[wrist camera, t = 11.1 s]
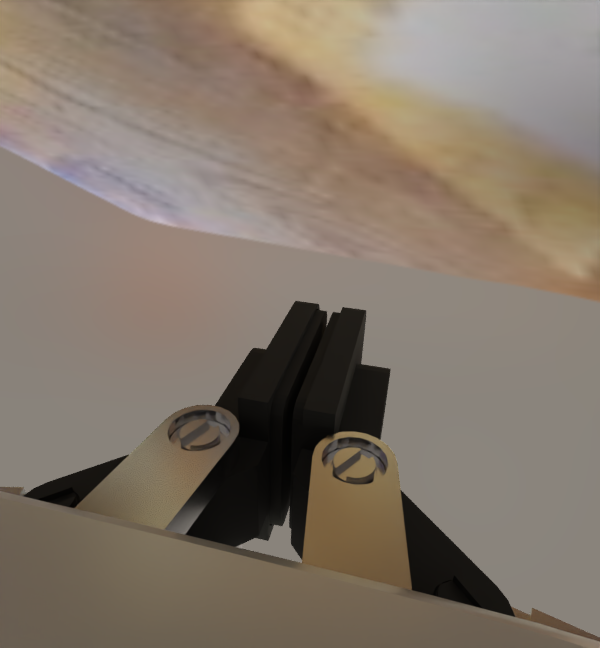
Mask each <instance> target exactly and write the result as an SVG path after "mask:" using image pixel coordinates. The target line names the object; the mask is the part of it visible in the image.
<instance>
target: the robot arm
mask: <svg viewBox="0 0 600 648" xmlns="http://www.w3.org/2000/svg"><path fill="white" fill-rule="evenodd" d="M365 322H366V310H359V309H352V308H344V307H343V308H342V310H341V313H336V312H333V313H332V315H331V318H330V321H329V323H328V325H327V327H326V324H327V312H326V311H321V310H319V304H314V303H307V302H299V301H295V303H294V304H293V306H292V307H291V309H290V311H289V312H288V314H287V316H286V318H285V319H284V321H283V323H282V324H281V326H280V328H279V329H278V331H277V333H276V334H275V336H274V338H273V339H272V341H271V343H270V344H269V346H268V348H267V349H266V350H265V349H259V348H253V349H252V350H251V351H250V353H249V354H248V356H247V357H246V359H245V360H244V362H243V363H242V365H241V366H240V368H239V369H238V371H237V373H236V374H235V376H234V377H233V379H232V380H231V382H230V383H229V385H228V386H227V388H226V390H225V391H224V393H223V394H222V396H221V397H220V399H219V400H218V402H217V403H216V405H215V406H212V405H196V406H192V407H187V408H184V409H182V410H179V411H177V412H175V413H174V414H172V415H171V416H169V417H168V418H167V419H166V420H165V421H164V422H163V423H161V424H160V425H159V426H158V427H157V428H156V429H155V430H154V431H153V432H152V433H151V434H150V435H149V436H148V437H147V438H146V439H145V440H144V441H143V442H142V443H141V444H140V445H139V446H138V447H137V448H136V449H135V450H134V451H133V452H132V453H131V454H129V455H126V456H123V457H120V458H117V459H115V460H111V461H109V462H106V463H103V464H100V465H97V466H94V467H91V468H88V469H85V470H82V471H79V472H77V473H73V474H71V475H68V476H65V477H62V478H59V479H56V480H53V481H50V482H47V483H45V484H43V485H40V486H39V487H36V488H34V489H33V490H31V491H30V492H28V493H27V494H26V492H25V489H24V487H0V648H600V637H597V636H595V635H593V634H590V633H588V632H586V631H584V630H581V629H579V628H577V627H575V626H572V625H570V624H568V623H565V622H563V621H561V620H559V619H556V618H554V617H552V616H550V615H547V614H545V613H543V612H541V611H538V610H536V609H534V608H532V609H531V612H530V614H526V613H524V612H522V611H520V610H518V609H515V608H513V607H511V606H510V604H509V601H508V600H507V598H506V597H505V596H504V595H503V593H502V592H501V591H500V590H499V588H498V587H497V586H496V585H495V584H494V583H493V582H492V581H491V580H490V579H489V578H488V577H487V576H486V575H485V574H484V573H483V572H482V571H481V570H480V569H479V568H478V567H477V566H476V565H475V564H474V563H473V562H472V561H471V560H470V559H469V558H468V557H467V556H466V555H465V554H464V553H463V552H462V551H461V550H460V549H459V548H458V547H457V546H456V545H455V544H454V543H453V542H452V541H451V540H450V539H449V538H448V537H447V536H446V535H445V534H444V533H443V532H442V531H441V530H440V529H439V528H438V527H437V526H436V525H435V524H434V523H433V522H432V521H431V520H430V519H429V518H428V517H427V516H426V515H425V514H424V513H423V512H422V511H421V510H420V509H419V508H418V507H417V506H416V505H415V504H414V503H413V502H412V501H411V500H410V499H409V498H408V497H407V496H406V495H405V494H404V493H403V492H402V491H401V490H400V481H399V474H398V464H397V461H396V458H395V454H394V453H393V452H392V450H391V449H390V448H389V447H388V445H386V444H385V443H384V442H382V441H381V432H382V426H383V419H384V412H385V405H386V398H387V390H388V384H389V377H390V369H388V368H382V367H375V366H369V365H362V364H361V359H362V350H363V341H364V330H365ZM289 506H290V519H289V521H290V522H289V527H290V528H291V544H292V546H293V547H294V549H295V550H296V552H297V553H298V555H299V556H300V558H301V559H302V563H299V562H295V561H291V560H287V559H283V558H279V557H274V556H271V555H266V554H262V553H258V552H254V551H250V550H246V549H243V543H245V542H247V541H249V540H251V539H253V538H258V539H263V540H267V541H268V540H269V537H270V534H271V531H272V529H273V526H274V525H279V526H282V525H283V523H284V521H285V518H286V515H287V512H288V509H289Z"/></svg>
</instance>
